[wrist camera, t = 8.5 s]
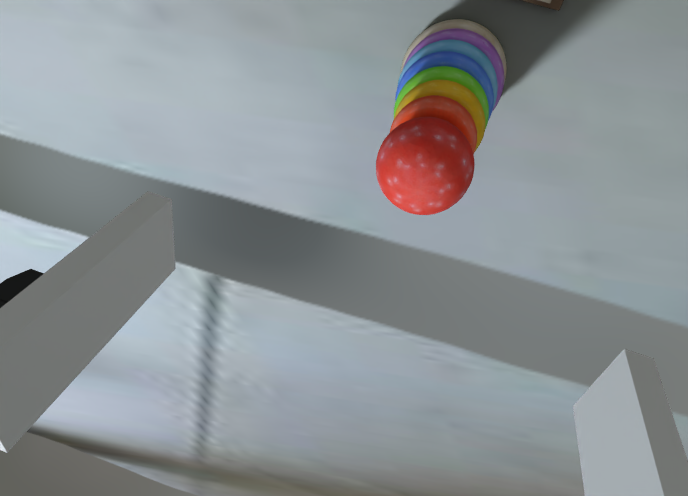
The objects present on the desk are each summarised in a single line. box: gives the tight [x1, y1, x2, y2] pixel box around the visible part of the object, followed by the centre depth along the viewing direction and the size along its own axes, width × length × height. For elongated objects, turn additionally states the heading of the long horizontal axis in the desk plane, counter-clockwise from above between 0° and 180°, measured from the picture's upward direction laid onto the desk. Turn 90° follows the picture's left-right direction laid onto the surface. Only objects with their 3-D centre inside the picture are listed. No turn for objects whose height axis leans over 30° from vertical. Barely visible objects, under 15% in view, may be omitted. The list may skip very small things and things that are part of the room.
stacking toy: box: [376, 19, 507, 215], centre depth 29 cm, size 8×8×19 cm
